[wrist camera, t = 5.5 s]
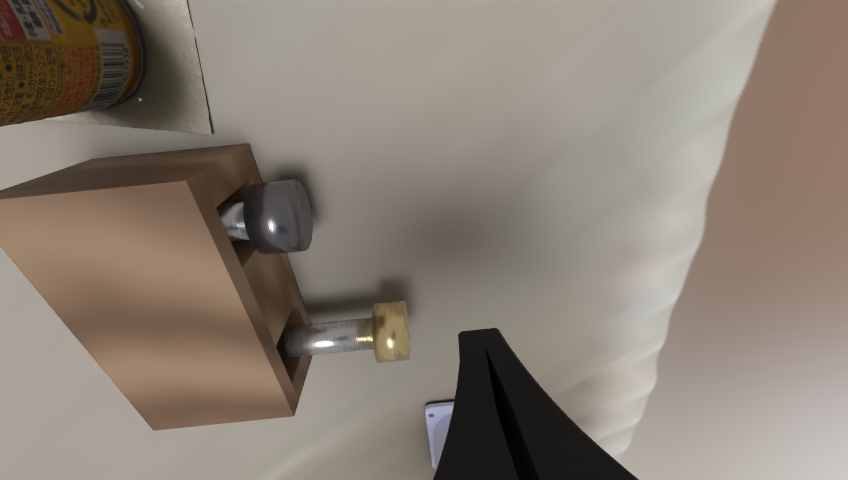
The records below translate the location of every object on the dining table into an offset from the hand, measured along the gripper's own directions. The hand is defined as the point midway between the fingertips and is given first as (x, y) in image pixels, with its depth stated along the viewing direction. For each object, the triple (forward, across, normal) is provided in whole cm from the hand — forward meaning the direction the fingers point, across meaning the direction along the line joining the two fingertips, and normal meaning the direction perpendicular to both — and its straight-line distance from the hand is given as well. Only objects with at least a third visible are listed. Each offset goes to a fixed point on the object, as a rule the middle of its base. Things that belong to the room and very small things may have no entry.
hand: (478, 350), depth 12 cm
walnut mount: (+9, +14, +1) cm, 17 cm away
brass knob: (+8, +8, +5) cm, 12 cm away
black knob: (+8, +12, -3) cm, 15 cm away
